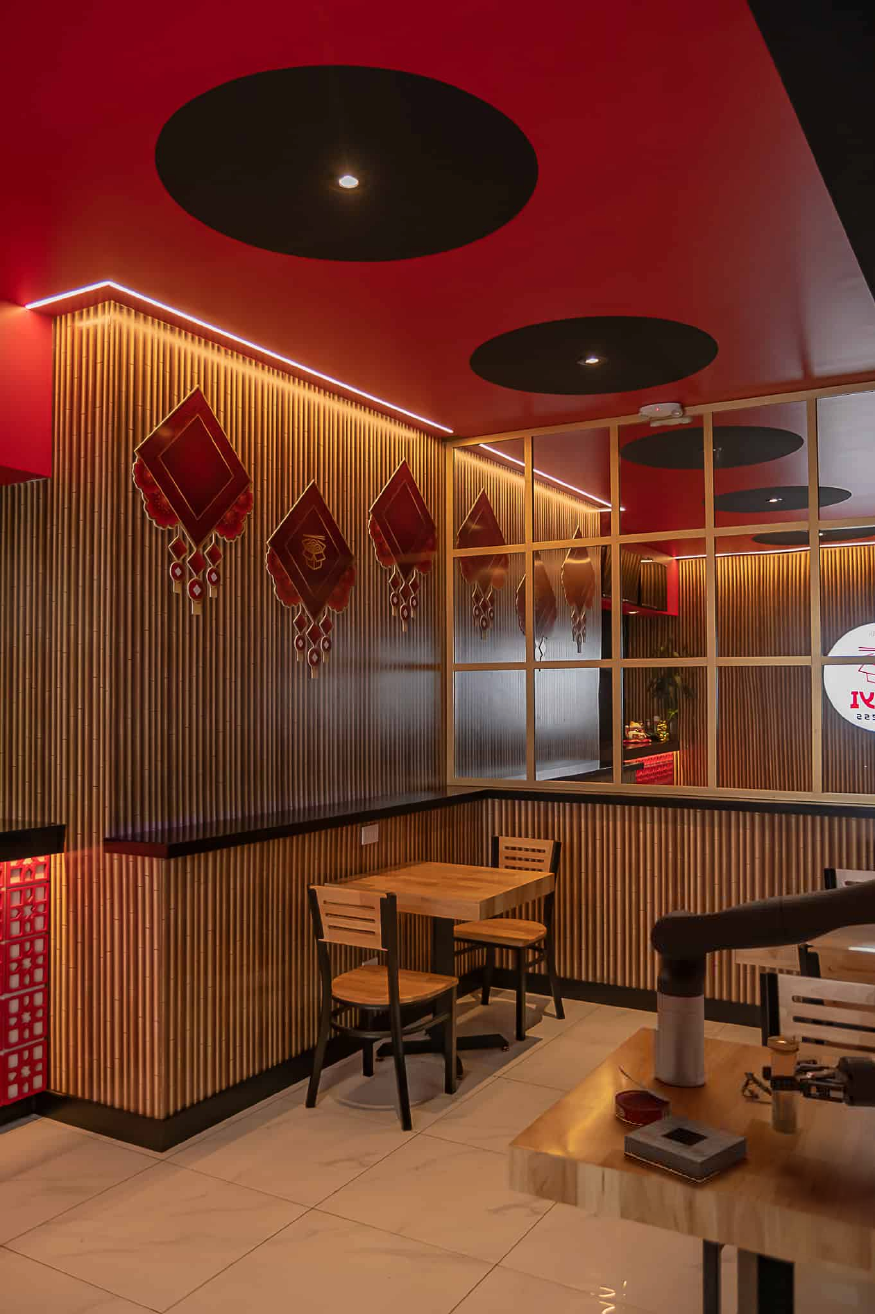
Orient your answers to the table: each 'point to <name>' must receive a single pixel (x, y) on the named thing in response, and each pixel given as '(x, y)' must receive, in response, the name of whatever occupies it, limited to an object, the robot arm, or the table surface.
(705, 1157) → the jig
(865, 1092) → the robot arm
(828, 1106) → the table surface
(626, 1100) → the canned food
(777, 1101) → the bushing
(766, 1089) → the brown turned rod
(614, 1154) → the table surface
